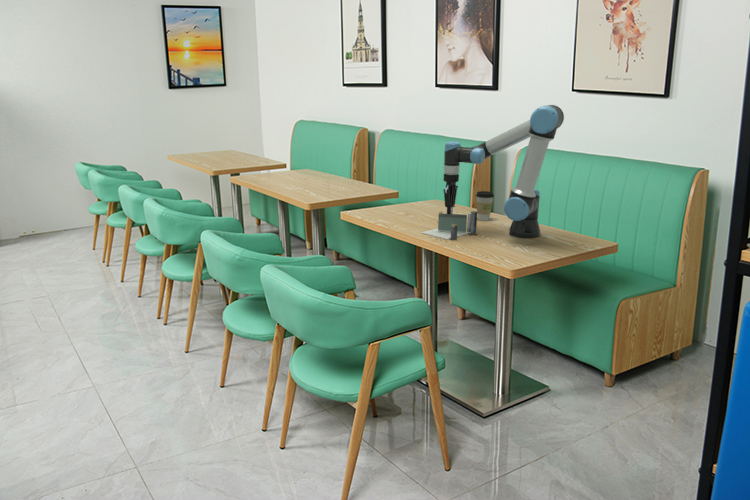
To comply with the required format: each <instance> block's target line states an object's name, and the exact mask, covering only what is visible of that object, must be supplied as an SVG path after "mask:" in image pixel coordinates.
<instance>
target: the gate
mask: <svg viewBox="0 0 750 500" xmlns="http://www.w3.org/2000/svg"><path fill="white" fill-rule="evenodd" d="M437 223H438V226H437V228H438V230H440V231H451V225H452V224H457V226H458V227H457V231H459V232H467V233H470V232H471V213H467V214H460V213H459V214H458V213H457V214H455V213H453V214H447V213H443V210H440V211H438V222H437Z"/></svg>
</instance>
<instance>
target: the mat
mask: <svg viewBox="0 0 750 500" xmlns="http://www.w3.org/2000/svg"><path fill="white" fill-rule="evenodd" d="M420 233H421V234H422V233H423V234H424V235H426V234H427V235H428V236H431V237H435V238H439V239H443V240H451V231H440V230H438V227H437V228H433V229H430V230H424V231H421V232H420ZM469 234H470V232H467V231H466V232H459V231H457V238H458V237H462V236H465V235H469Z"/></svg>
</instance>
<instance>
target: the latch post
mask: <svg viewBox="0 0 750 500" xmlns="http://www.w3.org/2000/svg"><path fill="white" fill-rule="evenodd" d="M457 227H458V226H457V224H452V225H451V239H450V240H452V241H457V240H458V237H457Z"/></svg>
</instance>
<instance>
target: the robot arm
mask: <svg viewBox="0 0 750 500" xmlns="http://www.w3.org/2000/svg"><path fill="white" fill-rule="evenodd" d="M564 120H565V114H564V112H563V110H562V108H560V107H559V106H558V105H556V104H548V105H542V106H539V107H537V108H536V109H535V110H534V111H533V112H532V113H531V115H530V119H529V120H526V121H524V122H522V123H520V124H518V125H516V126H515V127H512V128H511V129H508V130H507V131H503V132H502V133H500V134H498V135H497V136H496V135H495V136H494V137H492V138H490V139H488V140H486V141H483V142H482V143H480V144H478V145H476V146H471V147H468V146H461V142H459V141H446V142H445V145H444V159H443V160H444V161H443V164H444V165H443V182H445V183H446V184H445V188H443V195H444V196H443V197H444V199H443V200H444V207H445V208H446V214H454V213H453V212H454V208H456V199H457V192H458V188H459V186H458V185H457V183H458V182H459V178H460V174H459V173H460V163H464V164H465V163H466V164H467V163H468V164H474V165H477V164H478V165H480V164H483V162H484V160H486V159H488V158H490V157H492V156H493V155H496V154H497V153H500V152H502V151H504V150H507V149H508V148H510V147H512V146H514V145H517V144H519V143H521V142H523V141H525V140H527V139H529V141H528V144H527V145H528V146H527V148H526V151H525V154H524V158H523V161H522V165H521V169H520V171H519V174H518V178H517V181H516V185H515V186H514V187H512V188H511V190H510V193H509V196H508V198H507V200H505V203H504V205H503V212H504V214H505V216H506V217H507V218H508V219H510V220H512V222H511V225H510V227H509V229H508V230H509V231H508V234H509V235H510V236H512V237H515V238H521V239H536V238H539V237H540V236H541V229H540V225H539V211H540V210H539V207H540V198H541V195H540V194H541V193H540V190H538V189H536V186H537V182H538V179H539V176H540V172H541V169H542V166H543V164H544V160H545V157H546V154H547V150H548V147H549V143H550V142H551V141H552V140H553V141H554V139H555V137H556V133H557V129H559V128H560V127H561V126H562V125H563V123H564Z"/></svg>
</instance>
